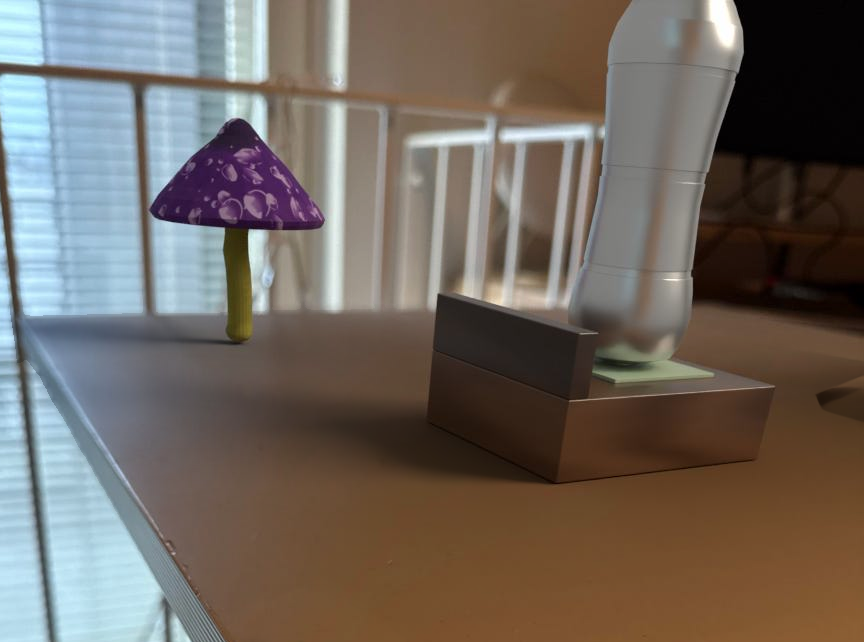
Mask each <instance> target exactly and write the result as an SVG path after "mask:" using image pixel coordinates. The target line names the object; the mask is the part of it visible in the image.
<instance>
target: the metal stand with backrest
mask: <svg viewBox="0 0 864 642" xmlns="http://www.w3.org/2000/svg"><path fill="white" fill-rule="evenodd" d="M597 340H598V333H597V332H594V331H590V330H587V329H583V328H579V327H576V326H572V325H569V324H568V323H565V322H561V321H557V320H554V319H551V318H550V319H549V318H547V317H543V316H539V315H535V314H532V313H529V312H525V311H521V310H518V309H515V308H511V307H507V306H503V305H500V304H496V303H493V302H489V301H486V300H482V299H479V298H476V297H475V298H474V297H471V296H467V295H463V294H460V293H456V292H438V293H437V295H436V305H435V316H434V328H433V340H432V351H431V352H432V354H431V363H430V364H431V365H430V376H429V386H428V387H429V389H428V398H427V410H426V422H429V423H430V424H432V425H434V426H435V427H438V428H441V429H443V430H445V431H446V432H449V433H451V434H453V435H455V436H457V437H459V438H461V439H463V440H465V441H468V442H469V443H472V444H474V445H476V446H478V447H480V448H481V449H484V450H486V451H488V452H491V453H492V454H495V455H497V456H498V457H501V458H503V459H505V460H507V461H509V462H511V463H513V464H515V465H516V466H519V467H521V468H523V469H525V470H527V471H529V472H532V473H534V474H536V475H538V476H540V477H541V478H544V479H545V480H548V481H550V482H552V483H553V484H561V483H569V482H579V481H587V480H594V479H595V480H597V479H603V478H604V479H605V478H612V477H619V476H628V475H629V476H631V475H637V474H645V473H654V472H662V471H663V472H664V471H667V470H668V471H670V470H679V469H687V468H694V467H695V468H696V467H703V466H712V465H720V464H729V463H736V462H737V463H738V462H744V461H745V462H746V461H754V460H757V459H758V458H759V453H760V449H761V445H762V441H763V437H764V433H765V429H766V425H767V421H768V417H769V413H770V409H771V406H772V401H773V398H774V393H775V389H776V386H775V385H773V384H769V383H766V382H762V381H759V380H755V379H752V378H748V377H744V376H742V375H737V374H734V373H730V372H727V371H724V370H720V369H716V368H713V367H708V366H706V365H702V364H698V363H696V362H691V361H688V360H685V359H681V358H677V357H674V356H671V357H670V358H669V359H667V360H663V361H656V362H648V363H640V364H632V365H618V364H613V363H609V362H607V361H604V360H602V359H599V358H596V357H595V352H596V346H597Z"/></svg>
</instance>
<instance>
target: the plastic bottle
mask: <svg viewBox="0 0 864 642" xmlns="http://www.w3.org/2000/svg"><path fill="white" fill-rule="evenodd" d="M612 33H613V34H612V36H611V38H610V41H609V43H608V51H607V60H606V61H607V62H606V67H607V73H606V85H605V86H606V91H605V93H606V94H605V113H604V114H605V115H604V116H605V117H604V135H603V136H604V137H603V146H602V153H601V165H602V169H601V175H600V176H599V181H598V190H597V198H596V203H595V207H594V210H593V215H592V220H591V225H590V229H589V233H588V238H587V241H586V246H585V251H584V255H583V264H582V265H581V266H580V267H579V269H578V273H577V274H576V278H575V281H574V285H573V287H572V288H573V289H572V292H571V296H570V300H569V303H568V308H567V321H568V322H567V324H569V325H572V326H576V327H579V328H583V329H587V330H590V331H594V332H597V333H598V340H597V346H596V352H595V357H596V358H599V359H602V360H604V361H607V362H609V363H613V364H618V365H632V364H640V363H648V362H656V361H663V360H667V359H669V358H670V357H673V356H674V354H675V353H676V351H677V350H678V349H679V348H680V347H681V346H682V344H683V341H684V339H685V336H686V333H687V330H688V328H689V325H690V322H691V319H692V318H691V317H692V307H693V294H694V293H693V292H694V287H693V286H694V285H693V284H694V277H693V276H692V270H693V269H694V261H695V260H694V259H695V251H696V244H697V236H698V228H699V219H700V211H701V204H702V200H703V196H704V193H705V192H704V191H705V189H706V183H705V182H706V177H707V173H709V171H710V167H711V164H712V159H713V155H714V151H715V147H716V143H717V139H718V136H719V133H720V130H721V126H722V124H723V120H724V118H725V115H726V113H727V112H726V111H727V108H728V105H729V102H730V99H731V97H732V93H733V90H734V87H735V84H736V77H737V75H738V74H739V72H740V67H741V63H742V60H743V56H744V53H745V51H744V30H743V26H742V23H741V19H740V17H739V14H738V9H737V6H736V4H735V2H734V0H631V2H630V3H629V5H628V7H627V8H626V9H625V11H624V13H623V14H622V15H621V17H620V18H619V20H618V22H617V23H616V26H615V28H614V31H613V32H612Z"/></svg>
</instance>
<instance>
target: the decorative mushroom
mask: <svg viewBox="0 0 864 642" xmlns="http://www.w3.org/2000/svg"><path fill="white" fill-rule="evenodd" d="M148 211H149V212H150V215H152V216H153V217H154V219H156V220H158V221H163V222H169V223H175V224H180V225H189V226H201V227H209V228H221V229H224V235H223V236H224V237H223V244H222V245H223V246H222V254H223V261H224V268H225V279H226V293H227V294H226V298H227V299H226V300H227V306H226V307H227V324H226V328H225V334H226V336H227V337H228V338H229V339H230V341H234V342H236V343H238V344H240V343H243V342H247V341H249V340H250V339H251V337H252V336H253V284H252V268H251V263H250V262H251V261H250V253H249V251H250V250H249V232H250V230H254V231H255V230H256V231H257V230H259V231H312V230H318V229H321V228H322V227H323V226H324V224H325V221H326V219H325V216H324V214H323V213H322V211H321V209H320V208H319V206H318V204H317V203H316V202H315V201H314V199H312V197H311V196H310V195H309V194H308V193H307V192H306V190H305V189H304V187H303V186H302V184H301V183H300V182H299V181H298V180H297V177H295V176H294V175H293V173H292V171H291V170H290V169H289V167H287V165H286V164H285V163H284V162H283V161H282V160H281V159H280V158H279V157H278V156H277V155H276V154H275V153H274V152H273V150H272V149H271V148H270V147H269V145H268V144H267V143H266V142H265V141H264V140H263V139H262V138H261V136H260V135H259V134H258V132H257V131H256V130H255V128H254V127H253V126H252V125H251V124H250V123H249V122H248V121H247V120H245V119H244V118H241V117H233V118H230V119H229V120H228V121H226V122H225V123H224V124H223V125H221V127H220V128H219V130H218V132H217V134H216V135H215V136H214V138H212V139H211V140H210V141H209V142H207V143H206V144H204V145H203V146H202V147H201V148H199V150H198V151H196V152H195V153H194V154H193V155H191V156H190V157H189V159H188V160H187V161H185V163H184V164H183V165H182V166H181V167H180V169H179V170H178V171H177V172H176V173H175V174H174V175H173V176H172V178H171V179H170V180H169V181H168V183H166V185H165V186H164V187H163V189H161V190H160V192H159V193H158V194H157V196H156V197H155V199H154V200H153V202H152V204H151V205H150V206H149V208H148Z"/></svg>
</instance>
